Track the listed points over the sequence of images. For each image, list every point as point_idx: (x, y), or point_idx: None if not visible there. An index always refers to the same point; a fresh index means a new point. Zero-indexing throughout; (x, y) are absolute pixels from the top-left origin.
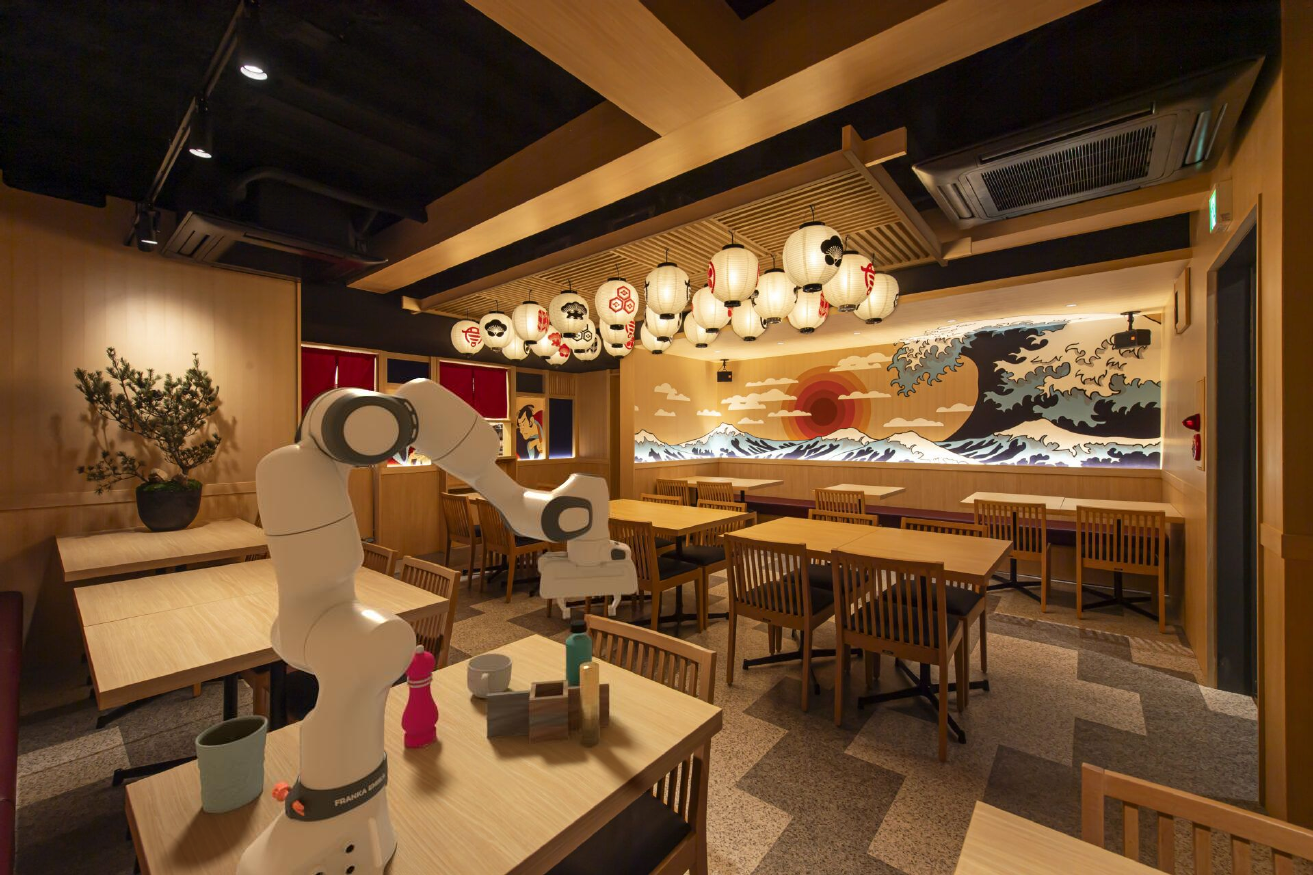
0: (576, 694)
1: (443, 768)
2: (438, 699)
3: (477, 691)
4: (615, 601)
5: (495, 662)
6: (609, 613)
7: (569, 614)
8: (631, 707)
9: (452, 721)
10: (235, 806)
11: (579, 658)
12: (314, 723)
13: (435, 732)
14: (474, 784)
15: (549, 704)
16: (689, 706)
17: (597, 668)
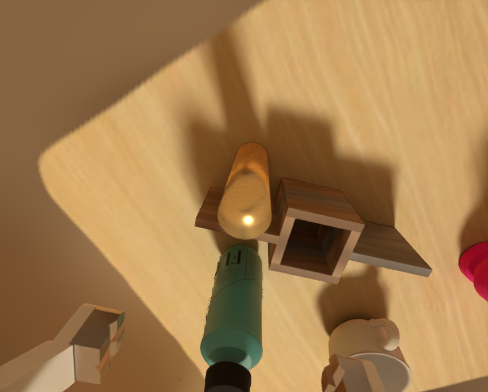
0: None
1: (478, 178)
2: (426, 340)
3: (386, 329)
4: (25, 385)
5: None
6: (114, 317)
7: (340, 374)
8: (164, 222)
9: (426, 284)
10: None
11: (238, 305)
12: None
13: (468, 259)
14: (451, 118)
15: (322, 210)
16: (71, 189)
17: (226, 195)
